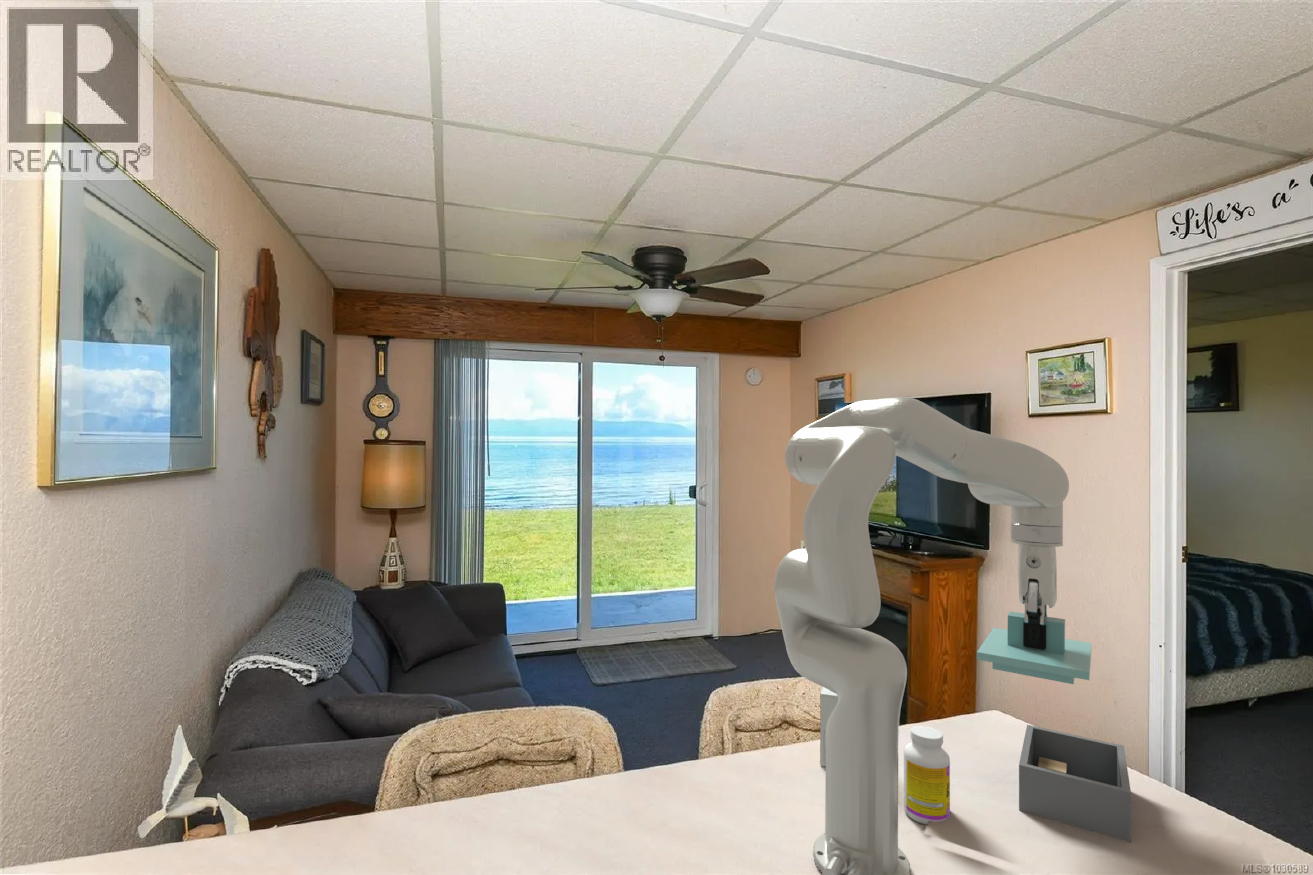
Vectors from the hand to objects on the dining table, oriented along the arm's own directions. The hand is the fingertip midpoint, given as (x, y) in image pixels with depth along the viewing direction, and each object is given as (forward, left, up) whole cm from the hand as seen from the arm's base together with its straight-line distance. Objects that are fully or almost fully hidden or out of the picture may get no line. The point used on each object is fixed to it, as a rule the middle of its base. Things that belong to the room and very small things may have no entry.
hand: (1035, 643), depth 105 cm
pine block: (+4, -2, -24) cm, 24 cm away
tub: (0, -5, -25) cm, 25 cm away
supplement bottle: (-17, +14, -25) cm, 33 cm away
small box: (-7, +31, -25) cm, 40 cm away
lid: (0, 0, -3) cm, 3 cm away
